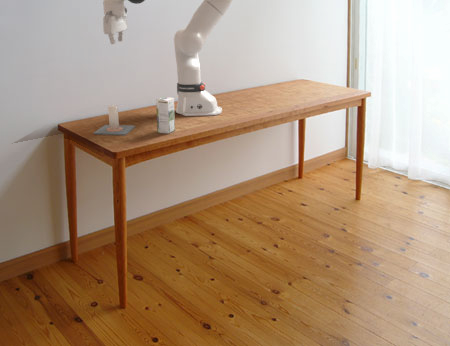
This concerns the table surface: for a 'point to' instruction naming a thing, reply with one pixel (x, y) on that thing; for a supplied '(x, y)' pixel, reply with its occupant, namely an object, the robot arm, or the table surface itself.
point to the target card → (121, 131)
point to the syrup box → (165, 115)
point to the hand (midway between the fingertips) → (116, 42)
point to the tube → (113, 117)
